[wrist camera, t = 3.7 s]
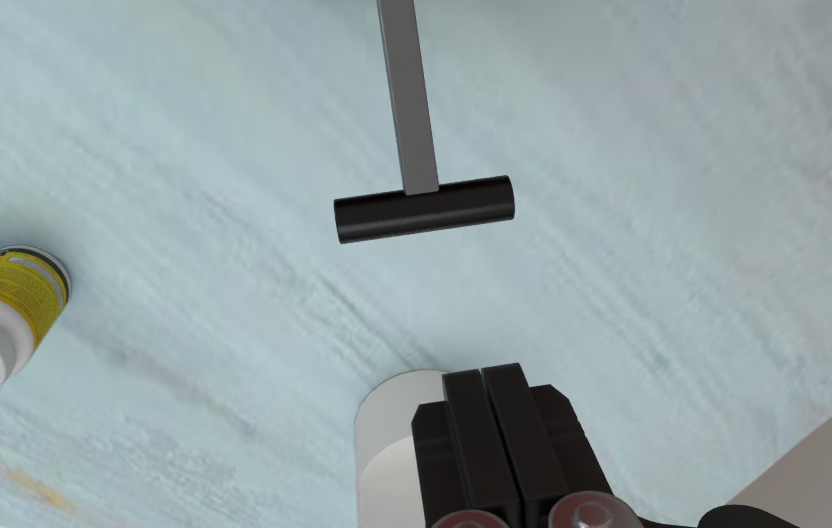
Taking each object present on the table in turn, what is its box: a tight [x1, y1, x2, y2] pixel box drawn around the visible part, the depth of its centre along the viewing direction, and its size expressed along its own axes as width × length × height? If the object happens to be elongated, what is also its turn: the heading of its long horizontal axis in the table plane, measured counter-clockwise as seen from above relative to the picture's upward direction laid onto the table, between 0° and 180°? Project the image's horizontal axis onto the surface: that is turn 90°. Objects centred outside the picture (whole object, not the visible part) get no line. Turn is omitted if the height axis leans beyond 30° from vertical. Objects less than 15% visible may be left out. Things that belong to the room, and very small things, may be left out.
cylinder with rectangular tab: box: [354, 370, 447, 528], centre depth 43 cm, size 9×9×12 cm
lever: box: [334, 0, 515, 244], centre depth 23 cm, size 14×6×2 cm, turn 6°
